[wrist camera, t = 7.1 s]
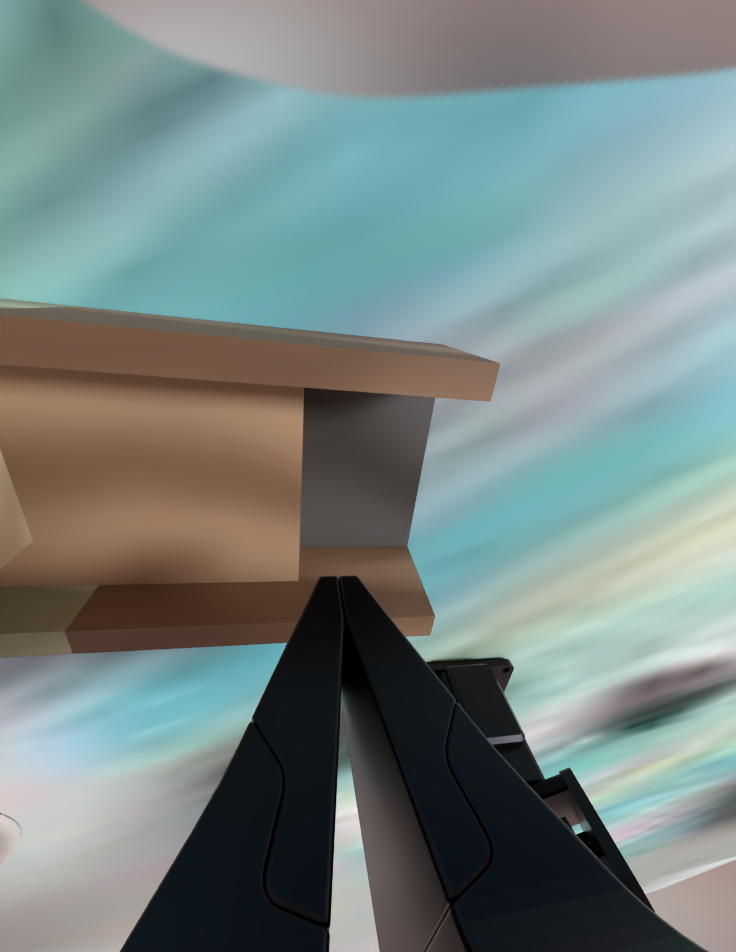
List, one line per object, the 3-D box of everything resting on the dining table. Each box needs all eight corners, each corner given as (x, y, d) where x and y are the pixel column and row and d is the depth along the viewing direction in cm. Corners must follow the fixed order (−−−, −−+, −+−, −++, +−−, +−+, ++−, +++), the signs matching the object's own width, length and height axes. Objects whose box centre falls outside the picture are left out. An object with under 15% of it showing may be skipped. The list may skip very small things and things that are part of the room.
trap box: (402, 558, 17) (430, 635, 13) (-292, 566, 13) (-566, 686, 9) (442, 344, 13) (500, 363, 9) (-579, 238, 8) (-1370, 181, 4)
